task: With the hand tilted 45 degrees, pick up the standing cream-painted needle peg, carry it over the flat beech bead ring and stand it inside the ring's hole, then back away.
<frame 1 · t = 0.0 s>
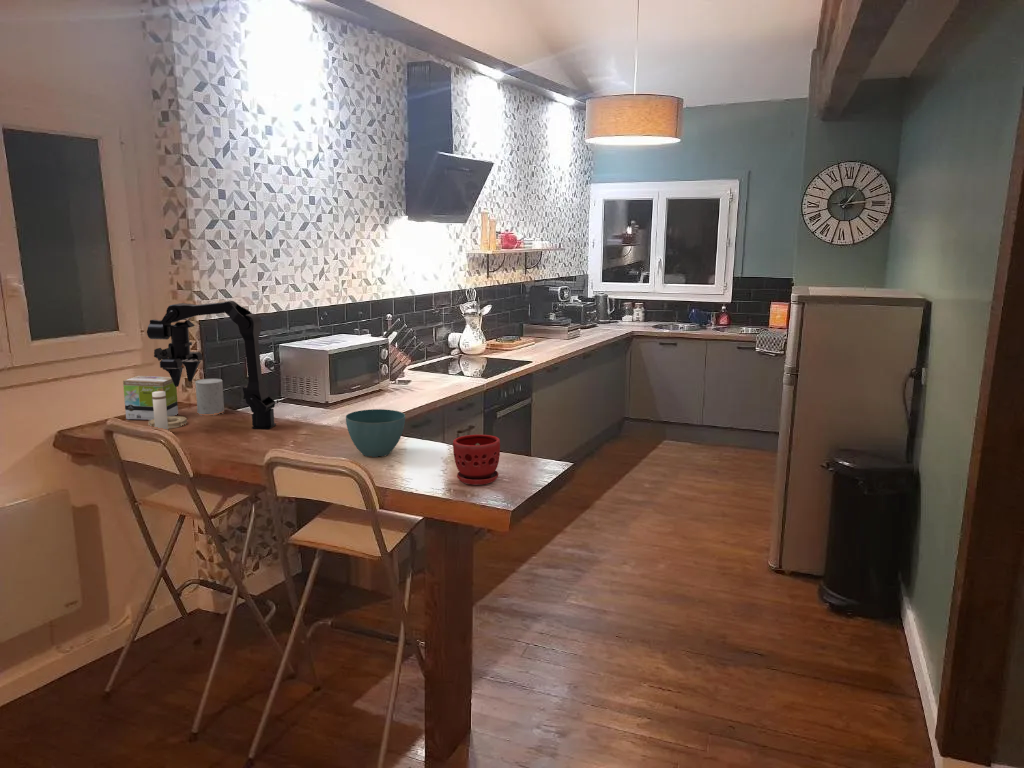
hand: (183, 383, 259), 15 cm above the breakfast bar, tool pointing down, fingers open, 9 cm apart
plant pot 2: (476, 480, 207), on the breakfast bar
bead ring: (168, 424, 261), on the breakfast bar
needle peg: (161, 432, 251), on the breakfast bar
plant pot: (376, 454, 231), on the breakfast bar
tea box: (152, 417, 271), on the breakfast bar
gray cylinder: (211, 413, 279), on the breakfast bar
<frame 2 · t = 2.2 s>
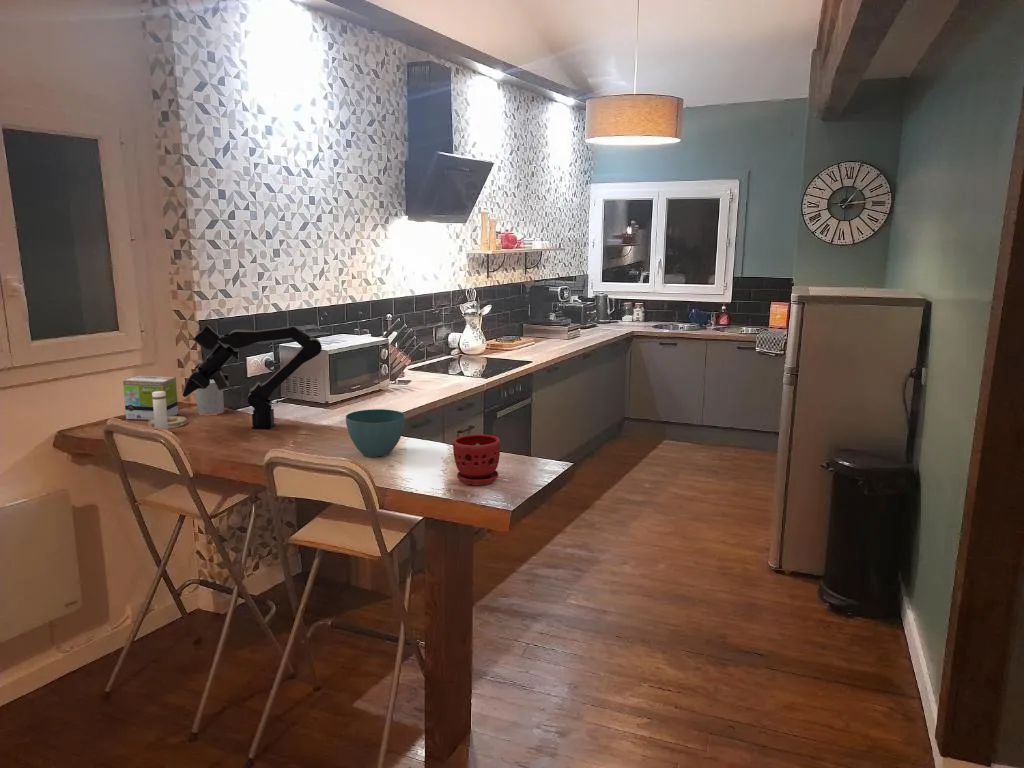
hand: (185, 393, 250), 13 cm above the breakfast bar, tool tilted 45°, fingers open, 9 cm apart
nothing on the breakfast bar moved.
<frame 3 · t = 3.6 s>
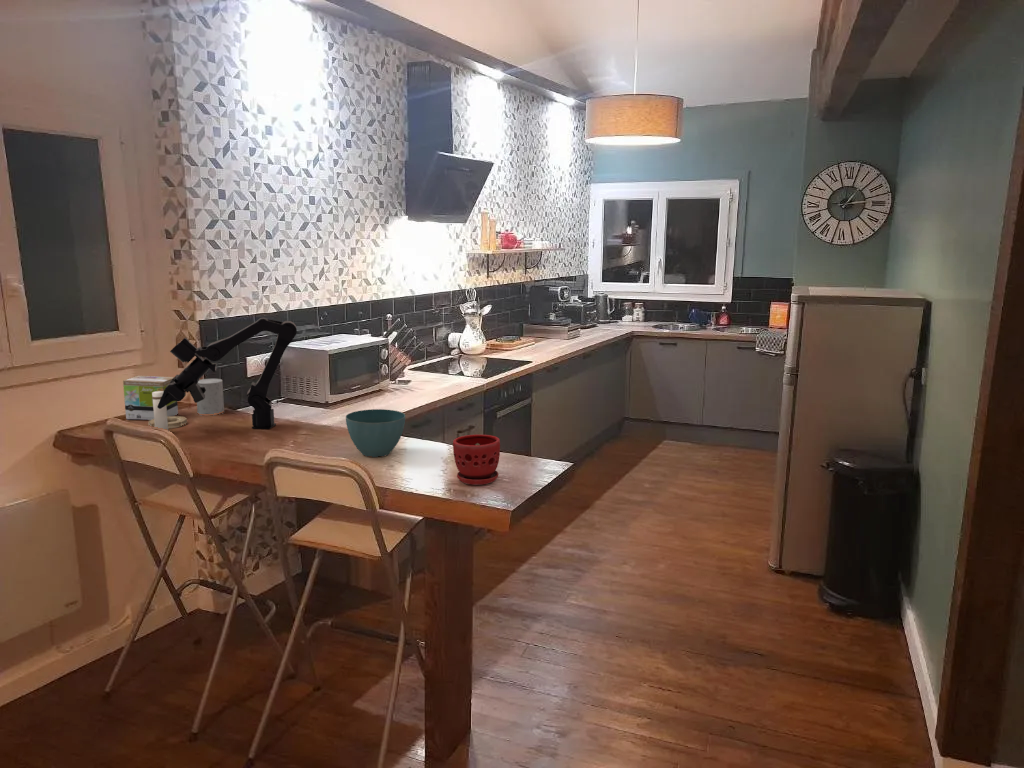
hand: (160, 404, 249), 10 cm above the breakfast bar, tool tilted 45°, fingers open, 9 cm apart
nothing on the breakfast bar moved.
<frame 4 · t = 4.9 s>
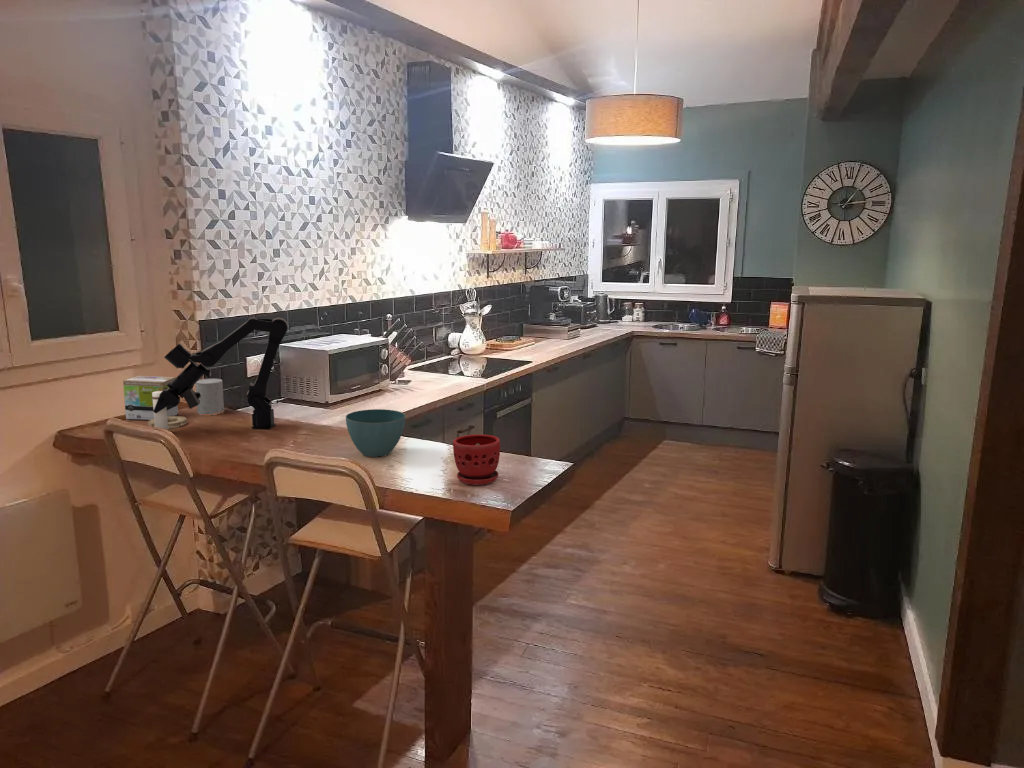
hand: (155, 410, 249), 8 cm above the breakfast bar, tool tilted 45°, fingers closed on needle peg, 4 cm apart
needle peg: (161, 432, 251), on the breakfast bar, touching gripper
everything else where it was.
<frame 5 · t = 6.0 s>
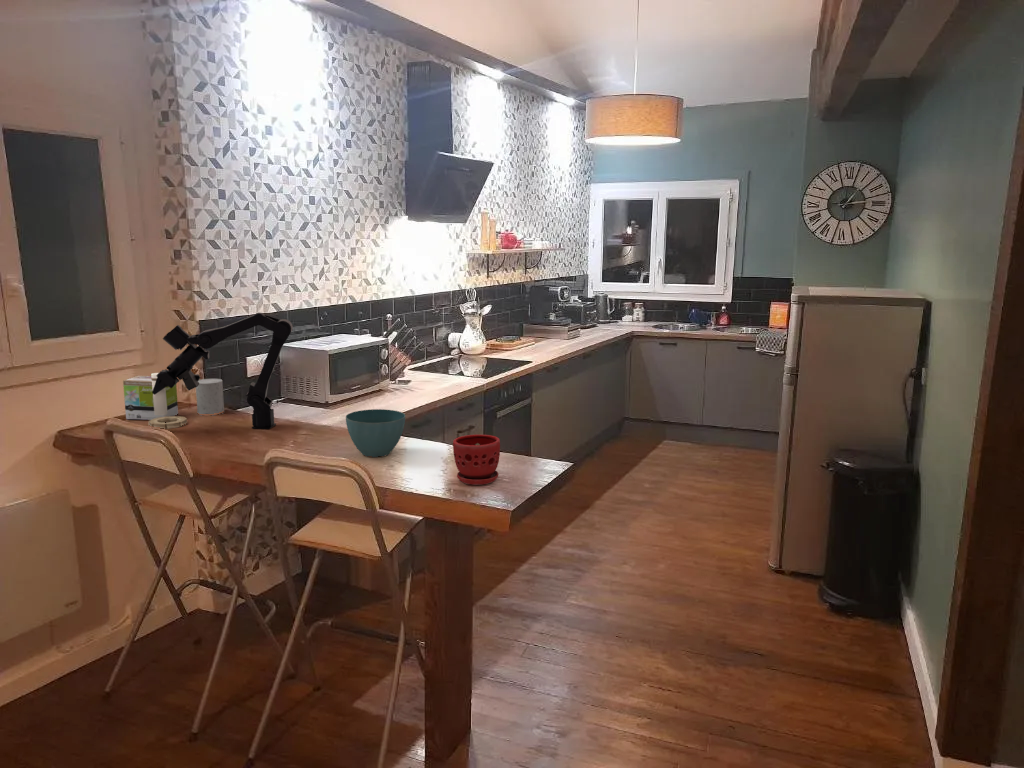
hand: (154, 392, 250), 14 cm above the breakfast bar, tool tilted 45°, fingers closed on needle peg, 4 cm apart
needle peg: (161, 414, 252), point 6 cm above the breakfast bar, touching gripper
everything else where it was.
when the fingers open (9 cm above the breakfast bar, at t = 7.6 s): needle peg drops 1 cm, resting in bead ring.
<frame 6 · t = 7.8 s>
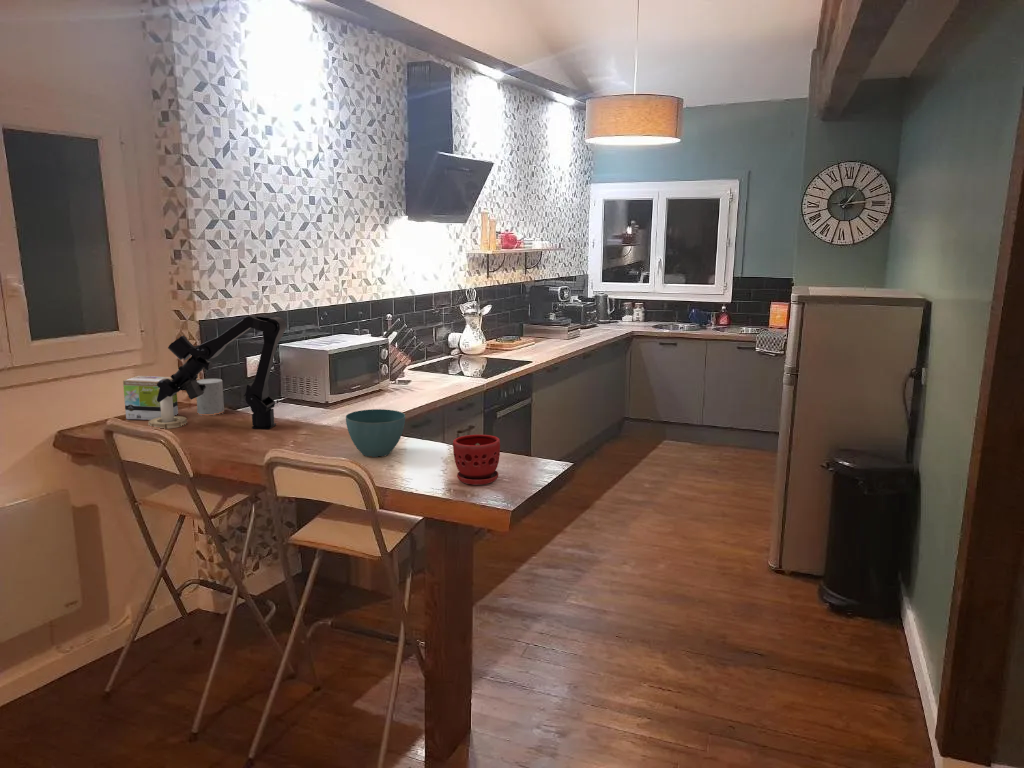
hand: (162, 399, 259), 9 cm above the breakfast bar, tool tilted 45°, fingers open, 6 cm apart
needle peg: (168, 424, 261), resting in bead ring
everything else where it was.
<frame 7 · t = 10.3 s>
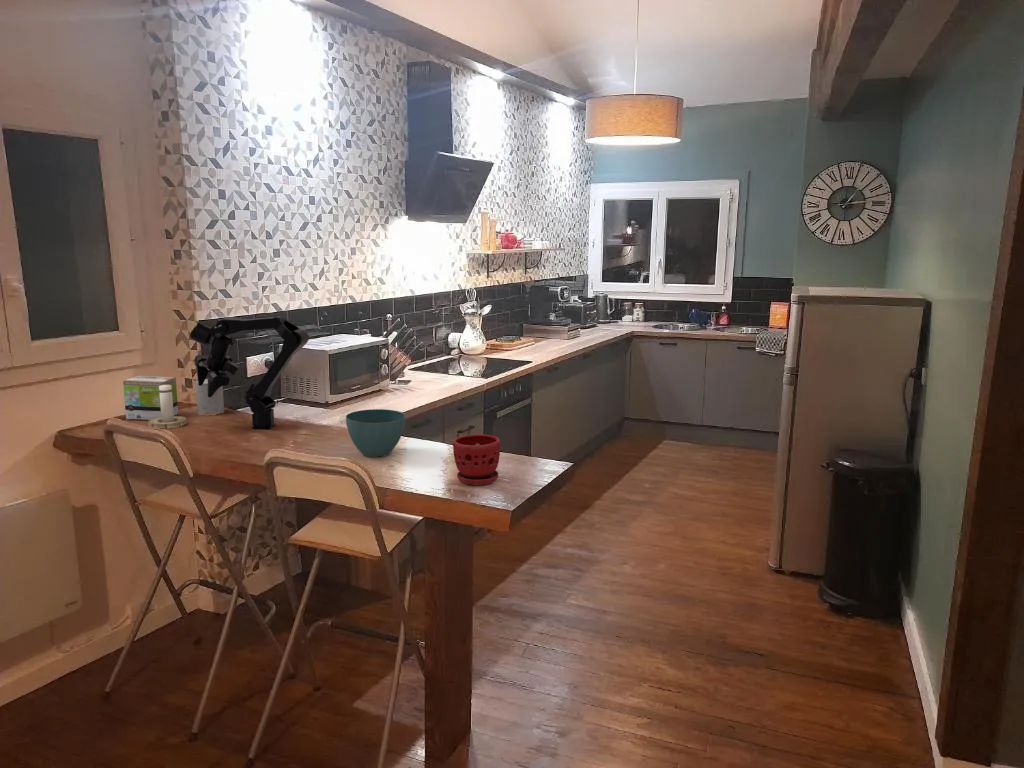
hand: (204, 391, 260), 12 cm above the breakfast bar, tool tilted 25°, fingers open, 9 cm apart
nothing on the breakfast bar moved.
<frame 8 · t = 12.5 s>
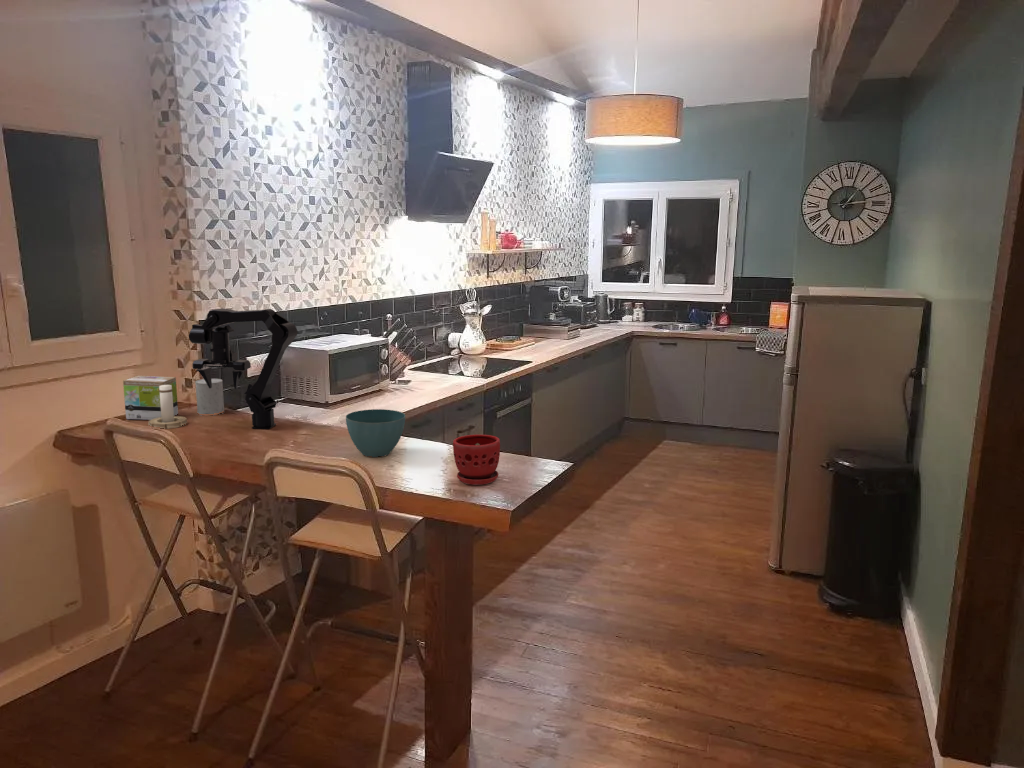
hand: (223, 388, 260), 13 cm above the breakfast bar, tool pointing down, fingers open, 9 cm apart
nothing on the breakfast bar moved.
at the end: needle peg 0.1 cm off-centre on the bead ring, point 0.0 cm above the bead ring's base; needle peg tilted 0°; the gripper is holding nothing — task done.
